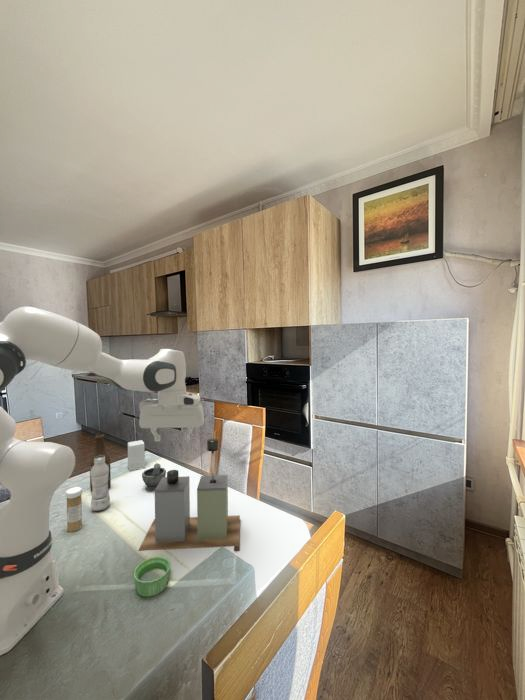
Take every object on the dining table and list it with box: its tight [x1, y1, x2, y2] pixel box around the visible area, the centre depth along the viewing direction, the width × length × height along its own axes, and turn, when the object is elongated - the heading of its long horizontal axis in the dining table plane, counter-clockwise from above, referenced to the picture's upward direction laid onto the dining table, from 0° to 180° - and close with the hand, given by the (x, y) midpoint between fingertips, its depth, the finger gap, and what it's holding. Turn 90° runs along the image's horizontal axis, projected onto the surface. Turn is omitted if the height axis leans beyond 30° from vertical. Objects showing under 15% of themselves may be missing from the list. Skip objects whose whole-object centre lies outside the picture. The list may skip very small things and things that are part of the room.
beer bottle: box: [89, 433, 112, 493], centre depth 128 cm, size 8×8×24 cm
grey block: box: [154, 476, 191, 542], centre depth 97 cm, size 9×9×16 cm
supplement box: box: [127, 439, 146, 472], centre depth 152 cm, size 7×7×13 cm
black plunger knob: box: [206, 437, 219, 483], centre depth 97 cm, size 7×7×19 cm
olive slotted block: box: [196, 474, 229, 540], centre depth 97 cm, size 9×9×16 cm
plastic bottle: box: [89, 455, 111, 512], centre depth 114 cm, size 6×7×20 cm
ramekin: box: [133, 555, 171, 598], centre depth 78 cm, size 9×9×4 cm
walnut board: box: [138, 515, 241, 552], centre depth 97 cm, size 16×30×2 cm, turn 94°
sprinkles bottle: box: [65, 486, 83, 533], centre depth 101 cm, size 5×5×13 cm
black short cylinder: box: [166, 469, 180, 485], centre depth 97 cm, size 7×7×19 cm
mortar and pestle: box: [141, 462, 167, 492], centre depth 130 cm, size 11×9×12 cm
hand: (172, 440), depth 96 cm, fingers open, 8 cm apart
